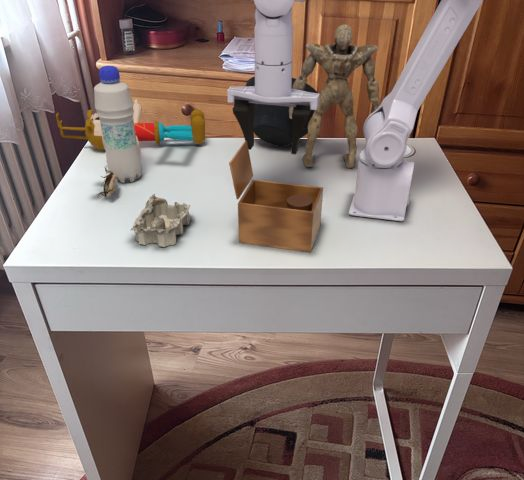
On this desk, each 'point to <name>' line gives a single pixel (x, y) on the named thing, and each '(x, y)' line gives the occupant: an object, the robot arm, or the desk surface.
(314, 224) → the brown box
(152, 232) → the egg carton
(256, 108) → the bowl
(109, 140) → the bottle
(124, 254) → the desk surface
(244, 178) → the flap
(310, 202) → the brown cylinder
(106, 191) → the insect
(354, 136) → the figurine
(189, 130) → the toy
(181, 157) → the desk surface
